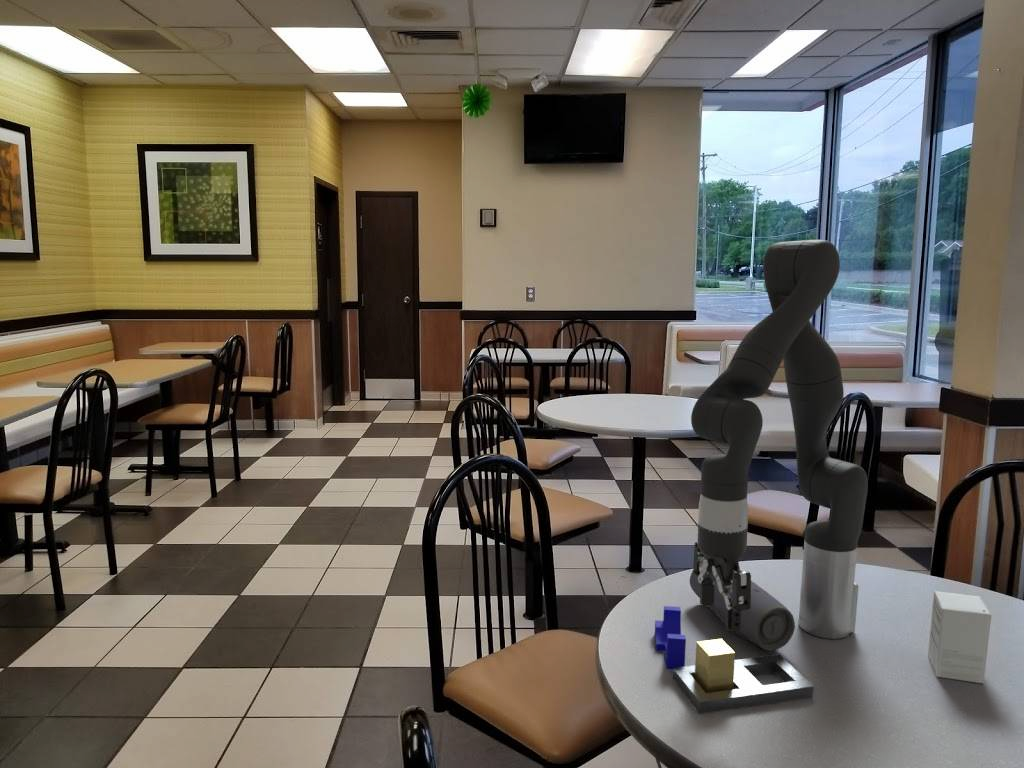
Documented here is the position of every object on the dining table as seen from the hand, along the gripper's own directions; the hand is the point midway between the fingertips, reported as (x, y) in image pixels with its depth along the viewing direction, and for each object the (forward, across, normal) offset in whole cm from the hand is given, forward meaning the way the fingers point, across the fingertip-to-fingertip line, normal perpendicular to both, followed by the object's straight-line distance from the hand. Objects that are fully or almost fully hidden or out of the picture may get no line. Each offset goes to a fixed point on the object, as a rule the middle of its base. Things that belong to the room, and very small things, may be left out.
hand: (719, 616), depth 121 cm
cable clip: (+14, +14, +2) cm, 19 cm away
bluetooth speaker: (+14, +19, -14) cm, 28 cm away
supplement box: (+14, -3, -43) cm, 46 cm away
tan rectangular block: (+13, 0, +1) cm, 13 cm away
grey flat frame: (+13, 0, -4) cm, 14 cm away
